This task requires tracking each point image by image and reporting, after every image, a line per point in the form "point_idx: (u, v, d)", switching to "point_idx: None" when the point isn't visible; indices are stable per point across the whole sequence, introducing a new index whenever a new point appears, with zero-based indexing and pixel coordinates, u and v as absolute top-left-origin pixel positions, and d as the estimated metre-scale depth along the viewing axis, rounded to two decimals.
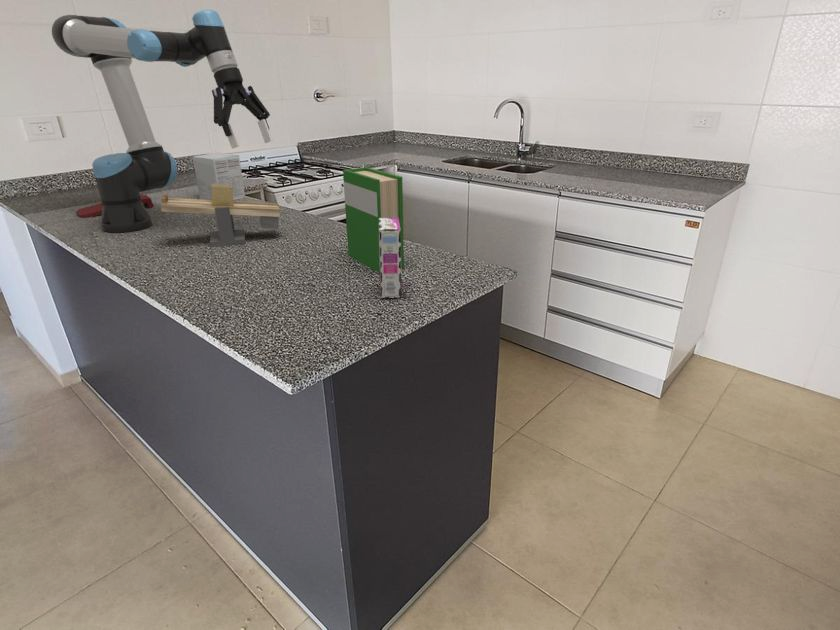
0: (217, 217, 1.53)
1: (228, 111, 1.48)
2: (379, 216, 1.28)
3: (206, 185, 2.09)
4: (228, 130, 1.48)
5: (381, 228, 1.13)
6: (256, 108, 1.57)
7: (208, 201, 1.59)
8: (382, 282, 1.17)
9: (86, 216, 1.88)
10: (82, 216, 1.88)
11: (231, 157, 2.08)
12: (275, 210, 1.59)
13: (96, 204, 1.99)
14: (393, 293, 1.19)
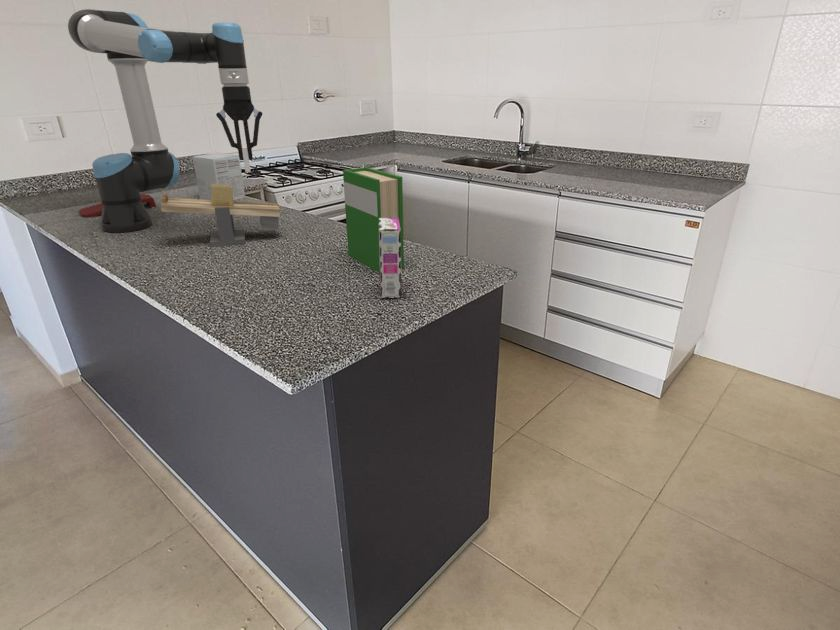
0: (217, 217, 1.53)
1: (237, 135, 1.50)
2: (379, 216, 1.28)
3: (206, 185, 2.09)
4: (240, 155, 1.53)
5: (381, 228, 1.13)
6: (246, 134, 1.51)
7: (208, 201, 1.59)
8: (382, 282, 1.17)
9: (89, 216, 1.89)
10: (85, 216, 1.88)
11: (231, 157, 2.08)
12: (275, 210, 1.59)
13: (98, 204, 1.99)
14: (393, 293, 1.19)
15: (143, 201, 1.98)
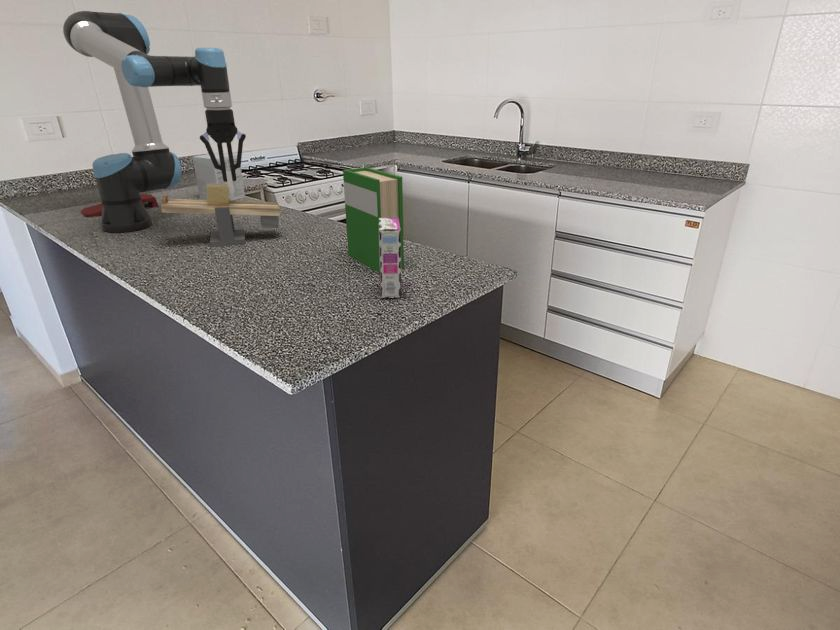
0: (217, 217, 1.53)
1: (221, 157, 1.51)
2: (379, 216, 1.28)
3: (206, 185, 2.09)
4: (224, 177, 1.54)
5: (381, 228, 1.13)
6: (230, 156, 1.52)
7: None
8: (382, 282, 1.17)
9: (91, 215, 1.89)
10: (87, 215, 1.89)
11: None
12: (275, 209, 1.59)
13: None
14: (393, 293, 1.19)
15: (145, 201, 1.99)
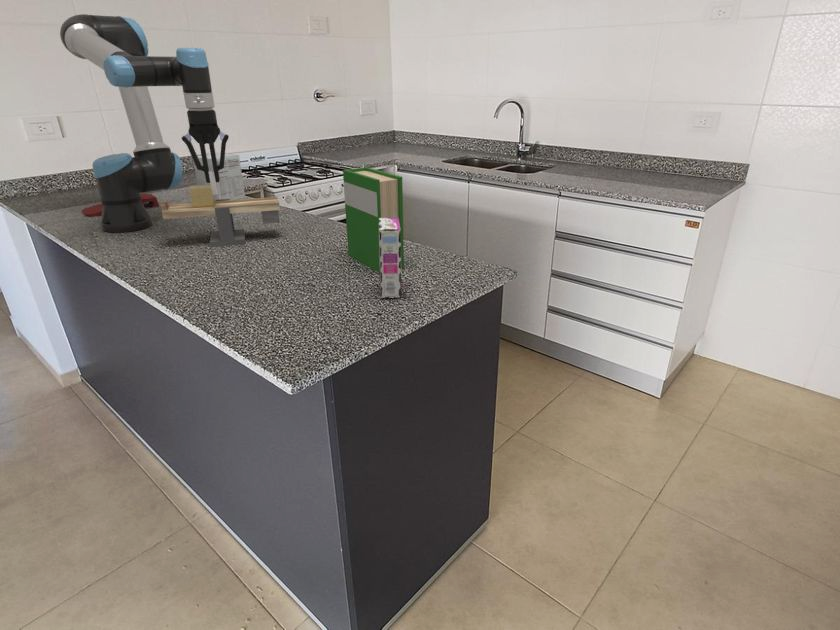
0: (217, 217, 1.53)
1: (203, 158, 1.50)
2: (379, 216, 1.28)
3: None
4: (207, 178, 1.53)
5: (381, 228, 1.13)
6: (213, 157, 1.51)
7: None
8: (382, 282, 1.17)
9: (93, 215, 1.89)
10: (89, 215, 1.89)
11: (231, 157, 2.08)
12: (274, 204, 1.58)
13: None
14: (393, 293, 1.19)
15: (146, 200, 1.99)
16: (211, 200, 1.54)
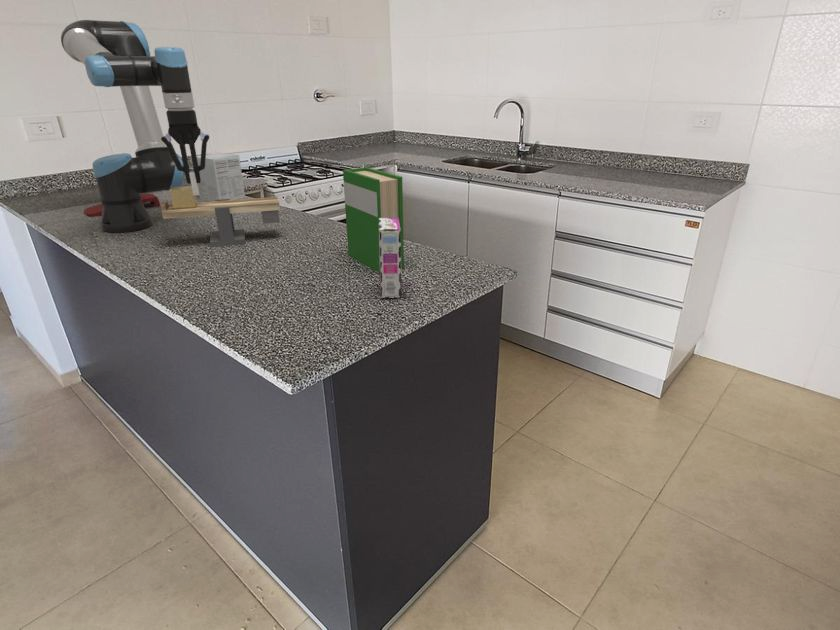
0: (217, 217, 1.53)
1: (184, 159, 1.49)
2: (379, 216, 1.28)
3: (206, 185, 2.09)
4: (187, 179, 1.51)
5: (381, 228, 1.13)
6: (193, 157, 1.49)
7: (208, 203, 1.59)
8: (382, 282, 1.17)
9: (94, 215, 1.90)
10: (90, 215, 1.89)
11: (231, 157, 2.08)
12: (274, 204, 1.58)
13: None
14: (393, 293, 1.19)
15: (148, 200, 1.99)
16: (192, 201, 1.53)
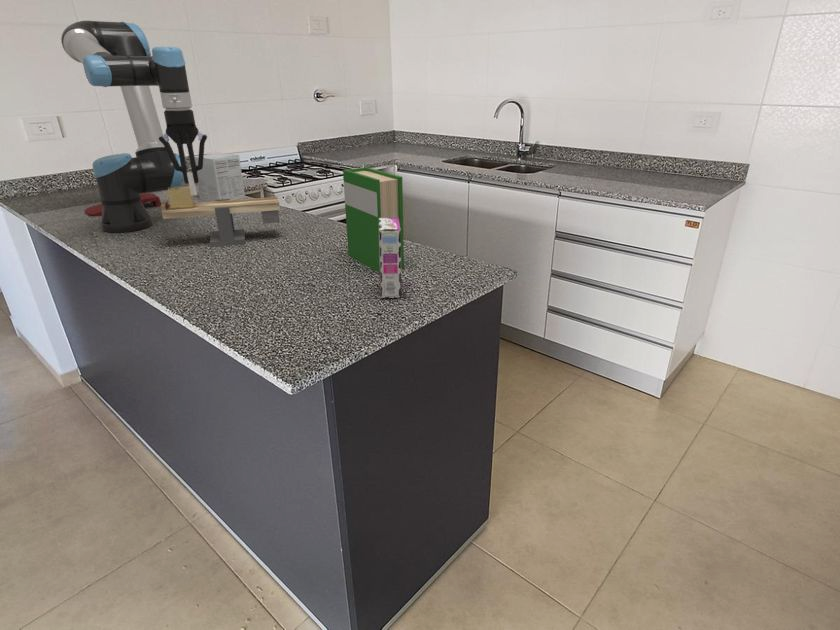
0: (217, 217, 1.53)
1: (181, 159, 1.48)
2: (379, 216, 1.28)
3: (206, 185, 2.09)
4: (185, 179, 1.51)
5: (381, 228, 1.13)
6: (191, 157, 1.49)
7: (208, 203, 1.59)
8: (382, 282, 1.17)
9: (96, 215, 1.90)
10: (92, 215, 1.90)
11: (231, 157, 2.08)
12: (274, 204, 1.58)
13: None
14: (393, 293, 1.19)
15: (149, 200, 2.00)
16: (190, 202, 1.52)
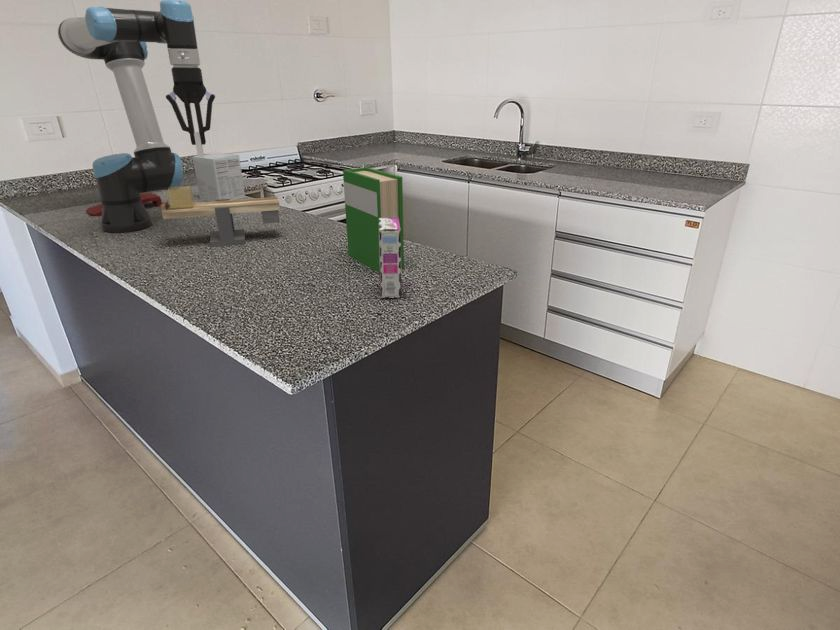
0: (217, 217, 1.53)
1: (188, 119, 1.45)
2: (379, 216, 1.28)
3: (206, 185, 2.09)
4: (192, 140, 1.48)
5: (381, 228, 1.13)
6: (198, 117, 1.46)
7: (208, 203, 1.59)
8: (382, 282, 1.17)
9: (97, 214, 1.90)
10: (93, 214, 1.90)
11: (231, 157, 2.08)
12: (274, 204, 1.58)
13: None
14: (393, 293, 1.19)
15: (150, 200, 2.00)
16: (190, 202, 1.52)
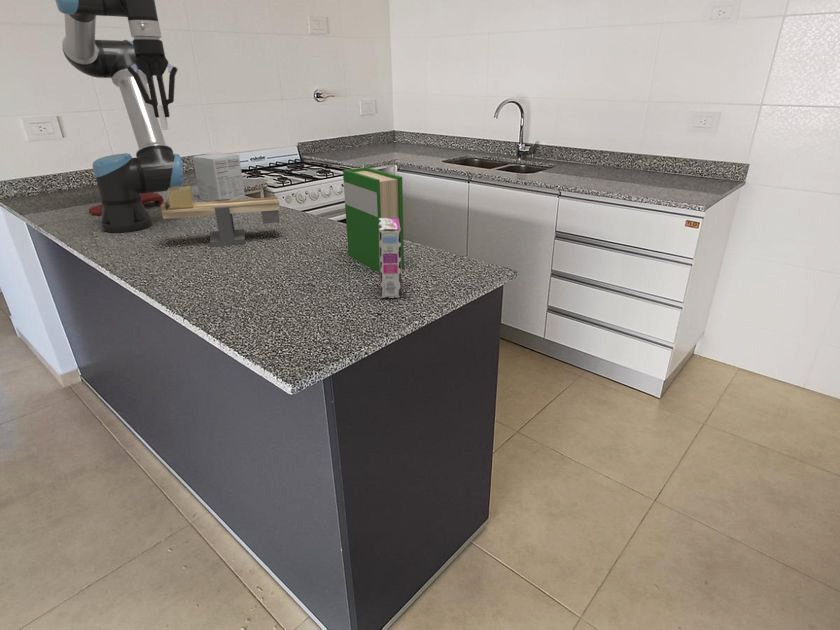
0: (217, 217, 1.53)
1: (151, 91, 1.47)
2: (379, 216, 1.28)
3: (206, 185, 2.09)
4: (155, 112, 1.50)
5: (381, 228, 1.13)
6: (161, 89, 1.48)
7: (208, 203, 1.59)
8: (382, 282, 1.17)
9: (100, 214, 1.91)
10: (96, 214, 1.91)
11: (231, 157, 2.08)
12: (274, 204, 1.58)
13: None
14: (393, 293, 1.19)
15: (153, 199, 2.01)
16: (190, 202, 1.52)
